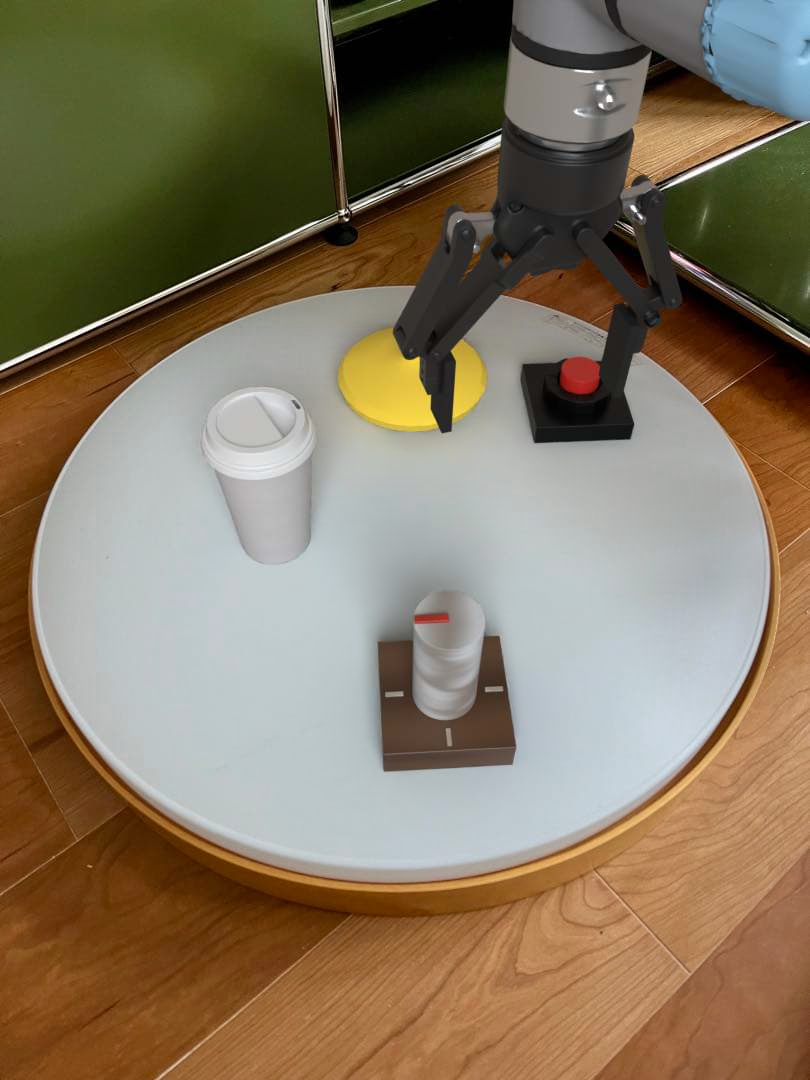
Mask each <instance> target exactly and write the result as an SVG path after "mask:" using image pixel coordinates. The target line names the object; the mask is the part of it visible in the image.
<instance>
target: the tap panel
mask: <svg viewBox="0 0 810 1080" xmlns="http://www.w3.org/2000/svg"><path fill="white" fill-rule="evenodd" d="M377 654H378V655H377V659H378V660H377V661H378V682H379V683H378V684H379V703H380V704H379V705H380V722H381V723H380V724H381V743H382V765H383V772H384V773H390V772H402V771H403V772H408V771H425V770H441V769H442V770H443V769H444V770H445V769H460V768H462V769H463V768H477V767H478V768H479V767H497V766H513V764H514V760H515V756H516V751H517V742H516V735H515V727H514V721H513V715H512V708H511V702H510V695H509V689H508V682H507V676H506V669H505V663H504V655H503V648H502V642H501V637H500V635H486V636H485V635H484V638H483V646H482V654H481V662H480V670H479V677H478V685H477V693H476V699H475V702H474V704H473V706H472V708H471V709H470V710H469V711H468V712H467V713H466V714H464V715H463V716H461V717H459V718H456V719H453V720H438V719H434V718H431V717H429V716H427V715H426V714H424V713H423V712H422V711H421V710H420V709H419V708H418V707H417V705H416V704H415V702H414V699H413V694H412V678H413V639H405V640H383V641H377Z"/></svg>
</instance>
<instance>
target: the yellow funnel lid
mask: <svg viewBox="0 0 810 1080" xmlns="http://www.w3.org/2000/svg"><path fill="white" fill-rule="evenodd" d="M394 327H395V326H393V327H387V328H384V329H380V330H378V331H376V332H374V333H371V334H368V335H366V336H365V337H363V338H362V339H360V341H358V342H357V343H355V344H354V345H353V346H352V347H351V348H350V349H348V351H347V352H346V354H345V355H343V357H342V359H341V361H340V364H339V366H338V370H337V384H338V387H339V389H340V391H341V393H342V395H343V397H344V400H345V402H346V404H347V406H349V408H351V410H353V411H354V413H356V414H357V416H359V417H361V418H362V419H364V420H366V421H367V422H369V423H371V424H372V425H376V426H379V427H382V428H385V429H387V430H391V431H398V432H408V433H412V432H414V433H415V432H429V431H433V430H438V429H439V426H438V424H437V422H436V420H435V418H434V416H433V414H432V411H431V409H430V407H431V395H427V393H426V391H425V389H424V387H423V385H422V382H421V380H420V378H419V372H420V371H419V367H420V357H417V358H415V359H413V360H407V359H405V358H404V357H403V355H402V353H401V351H400V349H399V346H398V344H397V342H396V340H395V338H394V336H393V328H394ZM451 352H452V354H453V356H454V358H455V360H456V371H455V387H454V402H453V418H452V424H454V423H456V422H459V421H461V420H462V419H464V418H465V417H466V416H468V414H470V413H471V412H472V411H473V410H474V409H475V408H476V406H477V405H478V403H479V401H480V400H481V398H482V397H483V395H484V393H485V391H486V389H487V388H486V387H487V382H488V372H487V368H486V364H485V362H484V361H483V358H482V357H481V355H480V354H479V353H478V352H477V350H475V348H473V347H472V346H471V345H470V344H469V343H467V342H466V341H465V340H464V338H462V339H461V340H460V341H459V342H458V343H457V344H456V346H455V347H454V348H453V349H452V350H451Z"/></svg>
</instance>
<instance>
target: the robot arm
mask: <svg viewBox="0 0 810 1080" xmlns="http://www.w3.org/2000/svg"><path fill="white" fill-rule="evenodd" d="M511 21H512V22H511V33H510V38H509V39H510V40H509V48H508V57H507V58H508V60H507V69H506V79H505V80H506V81H505V88H504V99H503V111H504V115H506V117H505V118H504V120H503V122H502V125H501V135H500V145H499V156H498V166H497V182H496V183H497V185H496V186H497V193H496V197H495V200H494V202H493V204H492V206H491V207H490V208H489V211H483V212H482V211H481V212H465V210H464V209H463V207H462V206H461V205H460V204H452V205H450V206H448V208H446V210H445V211H444V214H443V221H442V229H441V233H440V240H439V241H438V243H437V245H436V247H435V249H434V251H433V253H432V255H431V256H430V259H429V260H428V262H427V264H426V266H425V268H424V270H423V272H422V274H421V275H420V277H419V278H418V281H417V283H416V285H415V287H414V288H413V291H412V292H411V294H410V296H409V298H408V300H407V302H406V304H405V306H404V307H403V309H402V312H401V313H400V315H399V317H398V319H397V320H396V323H395V325H394V326H393V327H394V328H393V336H394V338H395V340H396V342H397V344H398V346H399V349H400V351H401V353H402V355H403V357H404V358H405V359H407V360H413V359H415V358H417V357H420V367H419V371H420V372H419V378H420V380H421V382H422V385H423V387H424V389H425V391H426V393H427V395H431V407H430V409H431V411H432V414H433V416H434V418H435V420H436V422H437V424H438V426H439V428H438V429H439V431H440V433H441V434H446V433H451V432H453V423H452V418H453V402H454V387H455V371H456V360H455V358H454V356H453V354H452V352H451V350H452V349H453V348H454V347H455V346H456V344H457V343H458V342H459V341H460V340H461V339H464V337H465V336H466V335H467V333H468V332H469V331H470V330H471V329H472V328H473V327H474V326H475V325H476V323H477V322H479V320H480V319H481V318H482V317H483V316H484V314H485V313H486V312H487V311H488V310H489V309H490V308H491V307H492V306H493V305H494V303H495V302H496V301H497V300H498V299H499V298H500V297H501V296H502V295H503V293H504V292H505V291H507V290H508V291H509V290H511V291H512V290H513V289H515V288H516V287H517V285H519V283H521V281H522V280H523V279H524V277H526V276H527V274H529V275H530V276H531V277H536V276H542V275H546V274H547V273H550V272H552V271H570V270H576V269H577V267H578V265H579V264H581V263H582V262H584V261H585V260H586V259H587V258H589V259H590V261H591V262H592V263H593V264H594V265H595V267H596V268H597V269H598V270H599V272H600V273H601V274H602V275H603V276H604V277H605V279H606V280H607V281H608V282H609V283H610V284H611V285H612V287H613V288H614V289H615V290H616V292H617V293H618V294H619V295H620V296H621V298H622V299H623V300H624V301H625V302H626V303H627V306H626V304H625V302H621V303H617V304H613V308H612V313H611V318H610V321H609V326H608V329H607V330H608V331H607V335H606V340H605V344H604V349H603V353H602V357H601V360H600V361H601V366H600V370H599V377H600V378H601V380H602V381H603V383H604V384H605V386H606V387H607V389H608V390H609V392H610V393H611V395H612V396H613V398H615V397H620V396H623V392H624V393H625V388H626V384H627V379H628V376H629V372H630V368H631V365H632V361H633V357H634V355H635V354H640V353H641V351H642V349H643V348H644V346H645V342H646V339H647V338H646V337H647V334H648V331H649V329H651V330H652V329H655V328H656V327H658V326H659V325H661V322H662V320H663V316H662V315H661V313H660V312H659V311H662V310H664V309H667V310H669V311H672V310H676V309H678V308H679V307H680V306H681V304H682V302H683V295H682V291H681V288H680V284H679V280H678V278H677V277H678V276H677V274H676V273H677V272H676V268H675V265H674V262H673V258H672V255H671V250H670V246H669V244H668V240H667V236H666V231H665V229H664V220H665V219H664V218H665V212H666V211H665V210H666V204H667V197H666V196H665V194H664V193H663V192H662V191H661V190H660V189H659V188H658V186H657V185H656V184H655V183H654V182H653V181H652V180H651V179H650V178H649V177H648V175H646V174H640V175H637V176H636V177H635V178H633V180H632V181H631V184H630V187H626V188H625V186H626V180H627V176H628V171H629V166H630V162H631V156H632V153H633V152H632V151H633V148H634V147H633V146H634V142H635V132H634V129H633V127H634V126H635V125H636V124H637V122H638V120H639V119H638V118H639V115H640V109H641V104H642V99H643V94H644V90H645V87H646V86H645V85H646V80H647V75H648V71H649V66H650V61H651V57H652V52H653V51H654V52H656V53H658V54H659V55H661V56H663V57H665V58H667V59H669V60H670V61H672V62H674V63H676V64H677V65H679V66H680V67H683V68H685V69H686V70H687V71H690V72H692V73H693V74H695V75H697V76H699V77H701V78H702V79H704V80H706V81H707V82H709V83H711V84H713V85H715V86H716V87H718V88H720V90H721V91H722V92H723V93H725V94H727V95H729V96H731V98H733V99H735V100H736V101H739V102H740V101H744V102H746V103H747V104H749V105H750V106H756V107H762V108H764V109H767V110H770V111H773V112H774V113H777V114H779V115H782V116H784V117H786V118H788V119H791V120H794V121H799V122H810V0H513V5H512V18H511ZM622 214H623V215H624V216H625V217H626V218H627V220H628V221H629V222H630V224H631V228H632V231H633V234H634V237H635V240H636V244H637V247H638V251H639V253H640V257H641V260H642V263H643V266H644V269H645V273H646V276H647V280H648V283H649V285H648V286H646V287H644V288H643V289H642V288H641V287H640V286H639V285H638V283H636V281H635V280H634V279H633V277H632V276H631V274H629V272H628V271H627V270H626V268H625V267H624V266H623V265H622V263H621V262H620V261H619V260H618V258H617V257H616V256H615V255H614V254H613V252H612V251H611V250H610V248H609V247H608V246H607V245H606V244H605V242H604V241H603V240H604V238H605V237H606V236H607V235H608V233H609V232H610V231H611V230H612V228H614V227H615V225H616V224H617V222H619V220H620V218H621V217H622ZM488 236H489V237H490V236H493V237H492V238H491V239H490V241H489V242H487V244H486V245H485V247H484V248H483V249H482V247H481V245H482V242H483V241H484V240H485V238H487V237H488ZM478 253H480V259H479V261H477V263H476V264H475V266H474V267H473V268H472V269H471V270H470V271H469V272H468V273H467V270H468V268H469V266H470V265H471V264H470V263H471V261H472V258H473V254H478ZM506 254H507V256H508V257H509V258H510V260H511V261H509V263H508V264H506V262H505V260H504V257H505V255H506ZM466 273H467V275H466V276H465V274H466ZM464 276H465V277H464ZM463 278H464V279H463Z"/></svg>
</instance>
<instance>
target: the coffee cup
mask: <svg viewBox="0 0 810 1080" xmlns="http://www.w3.org/2000/svg"><path fill="white" fill-rule="evenodd" d="M317 442H318V429H317V426H316V423H315V421H314V419H313V417H312V415H311V414H310V412H309V411H308V410H307V409H306V407H305V406H304V405H302V403H301V402H300V400H298V398H296V396H294V395H292V394H291V393H290V392H287V391H285V390H283V389H280V388H276V387H270V386H269V387H268V386H250V387H244V388H241V389H239V390H235V391H232V392H230V393H229V394H226V395H224V396H223V397H222V398H220V399H219V400H218V401H217V402H216V403H215V404H214V405H213V406H212V407H211V409H210V411H209V413H208V415H207V418H206V420H205V422H204V424H203V427H202V430H201V435H200V450H201V451H200V452H201V454H202V455H203V458H204V459H205V462H207V463H208V464H209V465H210V466H211V467H212V468H213V470H214V472H215V476H216V478H217V481H218V484H219V486H220V489H221V491H222V494H223V497H224V500H225V503H226V506H227V509H228V511H229V514H230V517H231V519H232V522H233V525H234V528H235V530H236V533H237V537H238V539H239V542H240V545H241V546H242V549H243V551H244V553H245V554H246V555H247V556H248V557H249V558H250V559H252V560H254V561H255V562H257V563H260V564H265V565H281V564H282V565H283V564H286V563H289V562H292V561H293V560H296V559H297V558H299V557H300V556H301V555H302V554H303V553H304V552H305V551H306V550H307V549H308V547H309V546H310V545H309V544H310V542H311V537H312V454H313V452H314V450H315V448H316V445H317Z"/></svg>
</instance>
